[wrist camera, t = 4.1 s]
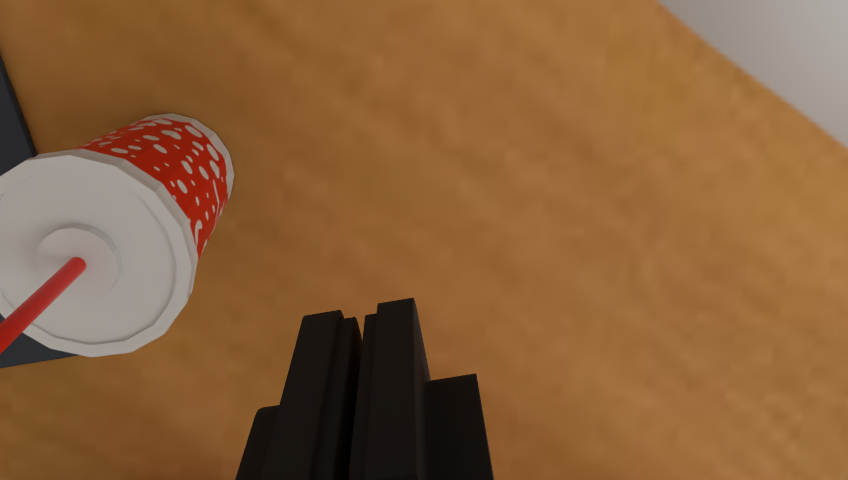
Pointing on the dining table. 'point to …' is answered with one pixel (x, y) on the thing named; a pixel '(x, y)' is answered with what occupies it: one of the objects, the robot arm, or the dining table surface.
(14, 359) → the mat
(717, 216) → the dining table surface
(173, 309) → the beverage cup
